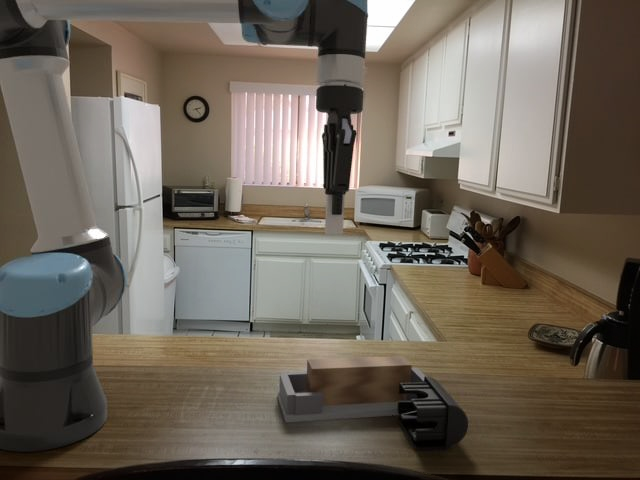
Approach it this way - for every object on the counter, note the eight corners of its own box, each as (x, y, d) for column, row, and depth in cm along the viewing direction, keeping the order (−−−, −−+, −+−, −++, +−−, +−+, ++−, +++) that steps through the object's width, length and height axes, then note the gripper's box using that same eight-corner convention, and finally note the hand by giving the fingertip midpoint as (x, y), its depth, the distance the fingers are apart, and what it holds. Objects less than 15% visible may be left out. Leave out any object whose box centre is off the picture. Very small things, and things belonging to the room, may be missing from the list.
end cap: (466, 451, 72) (470, 404, 71) (416, 453, 71) (419, 406, 70) (440, 417, 82) (443, 375, 81) (395, 418, 81) (398, 376, 80)
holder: (285, 422, 78) (286, 396, 78) (277, 396, 87) (278, 372, 86) (437, 412, 83) (439, 388, 83) (415, 388, 92) (416, 366, 92)
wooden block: (310, 406, 82) (312, 368, 81) (306, 395, 86) (307, 359, 85) (409, 401, 85) (411, 365, 84) (400, 390, 89) (402, 355, 88)
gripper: (375, 83, 79) (367, 240, 83) (351, 93, 92) (345, 229, 95) (326, 79, 78) (319, 239, 81) (309, 90, 90) (304, 228, 94)
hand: (333, 233), depth 88 cm, fingers closed
